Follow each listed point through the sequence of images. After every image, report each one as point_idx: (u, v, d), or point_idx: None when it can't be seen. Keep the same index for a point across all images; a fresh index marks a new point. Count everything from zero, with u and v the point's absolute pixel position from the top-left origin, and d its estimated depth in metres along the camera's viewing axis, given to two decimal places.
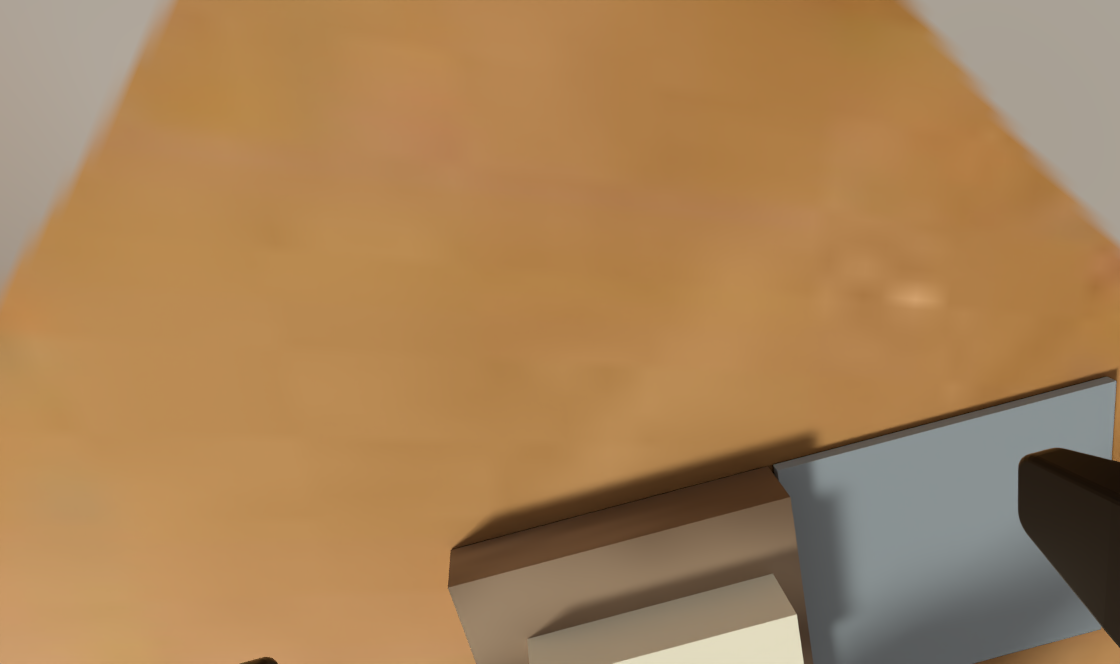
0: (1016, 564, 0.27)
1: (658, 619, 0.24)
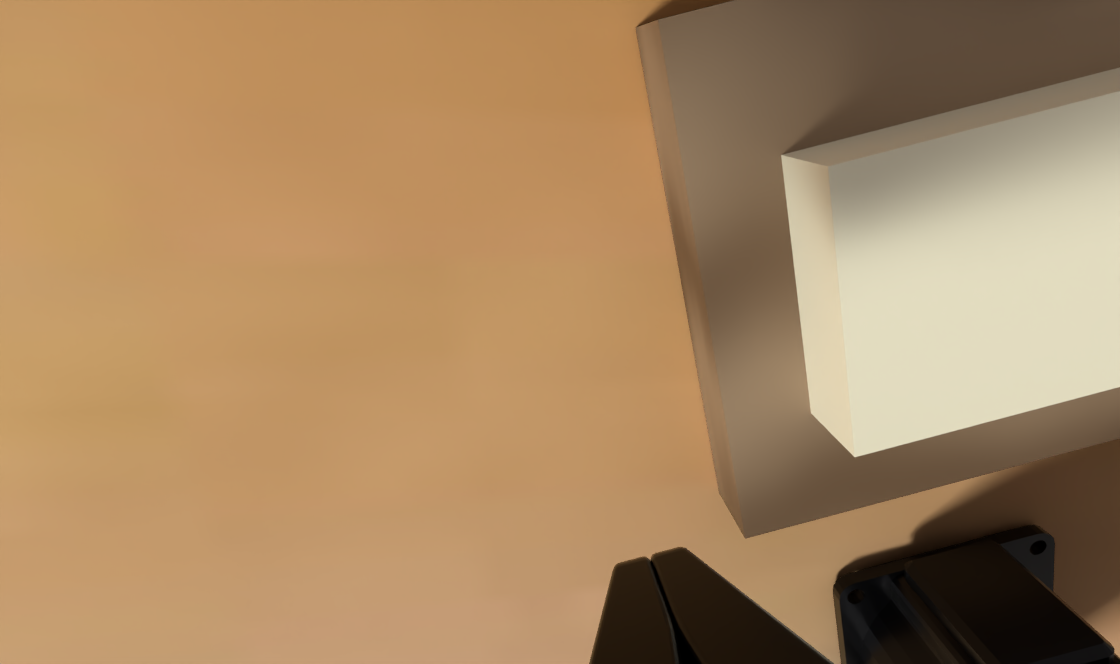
0: None
1: (1026, 99, 0.13)
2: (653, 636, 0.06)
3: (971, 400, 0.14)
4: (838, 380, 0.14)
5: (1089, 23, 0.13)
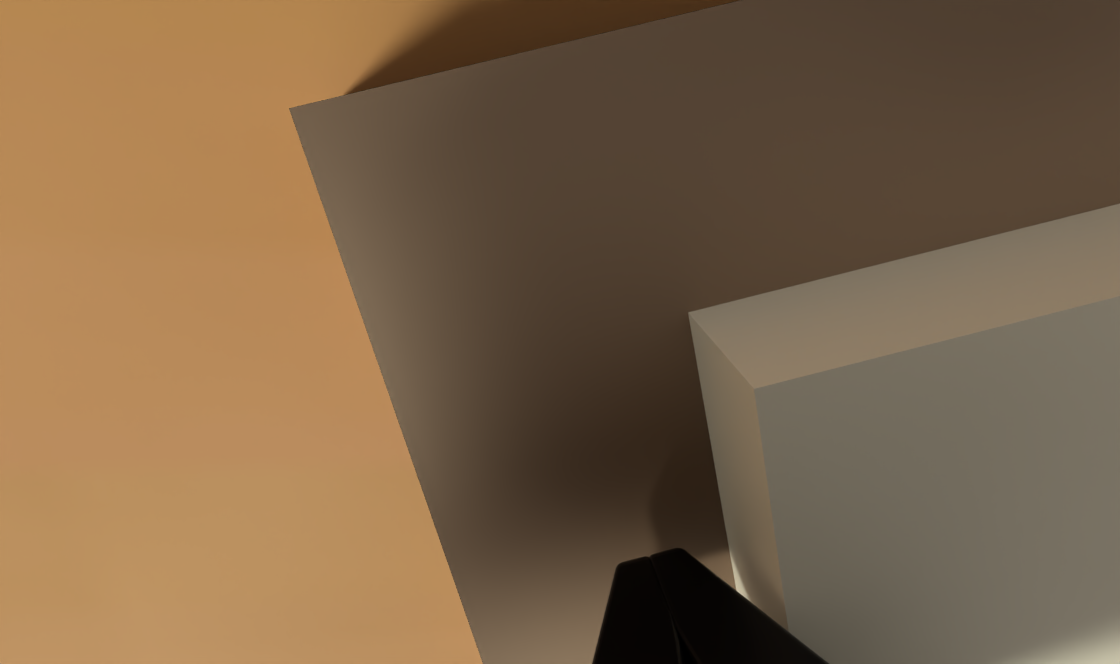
0: None
1: None
2: (656, 635, 0.06)
3: None
4: None
5: None
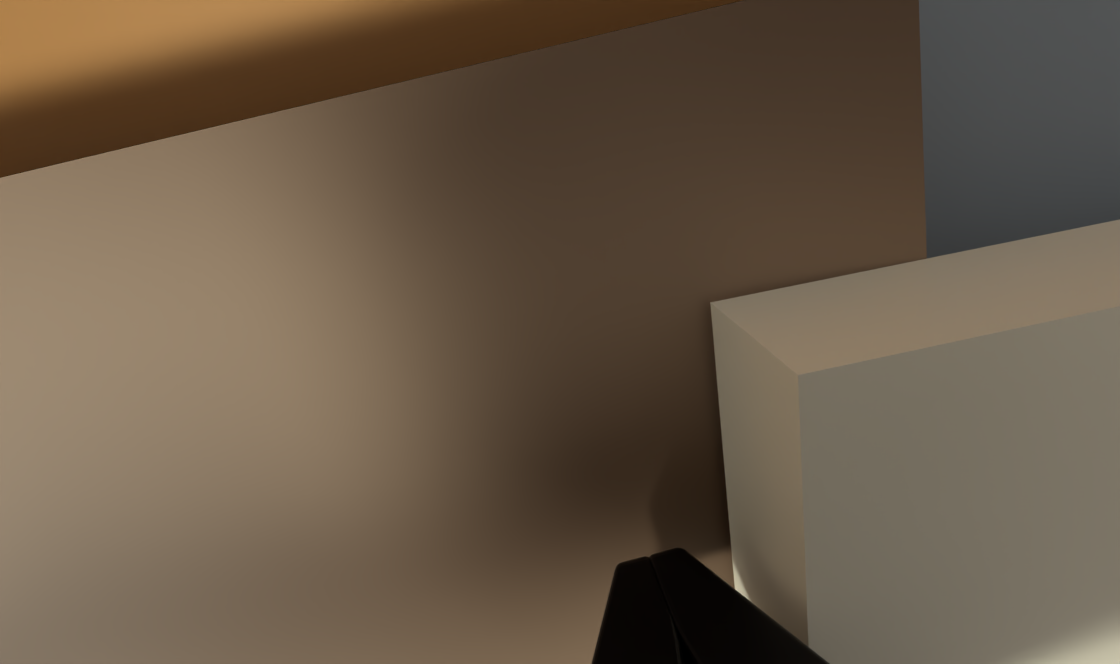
0: None
1: None
2: (656, 635, 0.06)
3: None
4: None
5: (593, 250, 0.07)
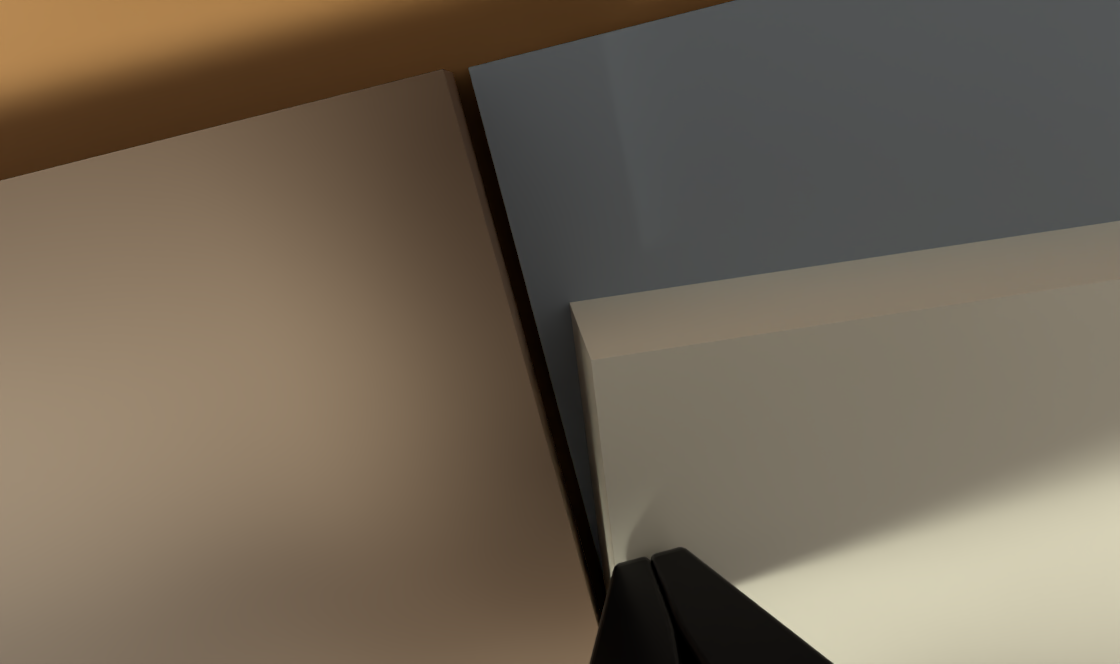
0: None
1: (939, 264, 0.09)
2: (653, 636, 0.06)
3: None
4: None
5: (161, 357, 0.07)
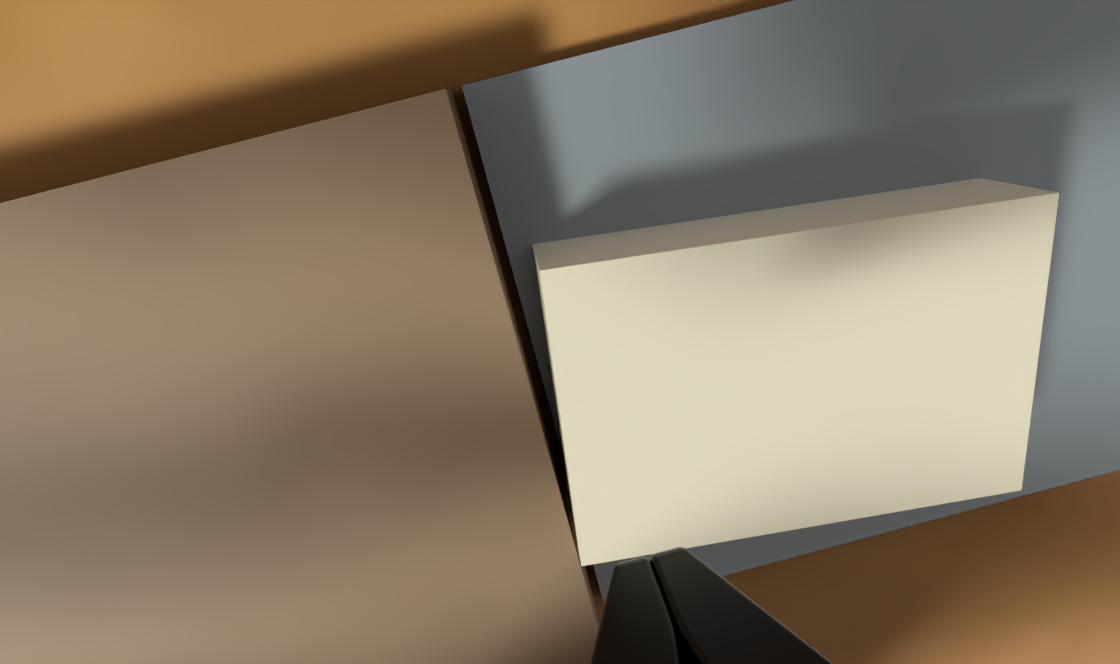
0: None
1: (779, 216, 0.13)
2: (654, 636, 0.06)
3: (705, 518, 0.13)
4: (569, 485, 0.13)
5: (269, 269, 0.11)
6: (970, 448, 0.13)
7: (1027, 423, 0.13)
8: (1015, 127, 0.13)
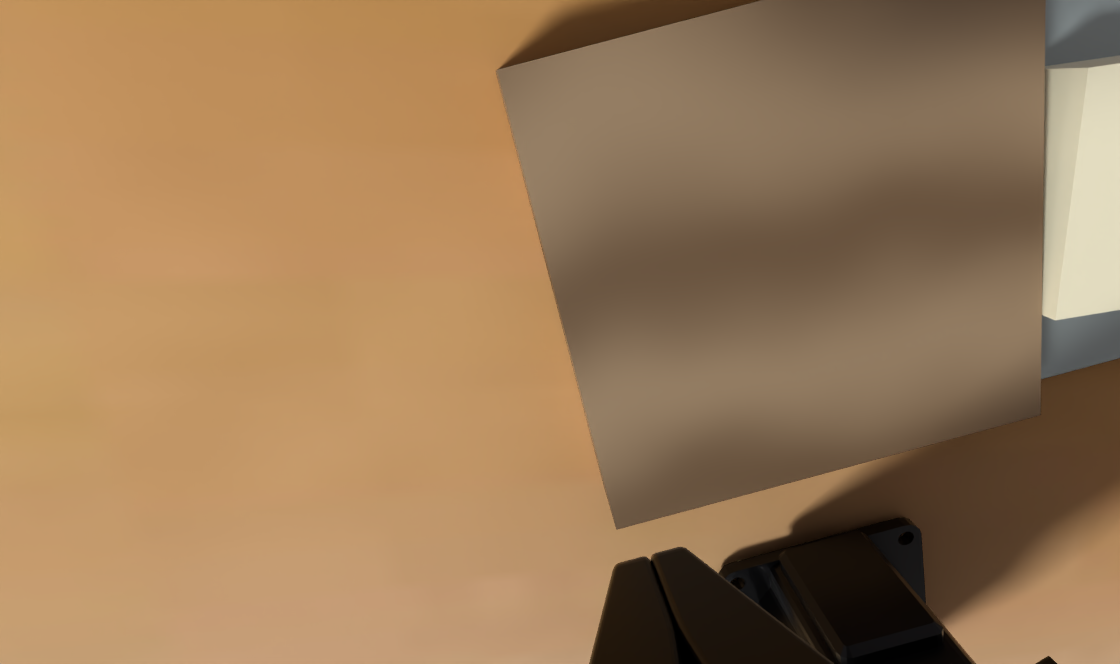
0: None
1: None
2: (654, 636, 0.06)
3: None
4: (1050, 255, 0.17)
5: (889, 67, 0.15)
6: None
7: None
8: None
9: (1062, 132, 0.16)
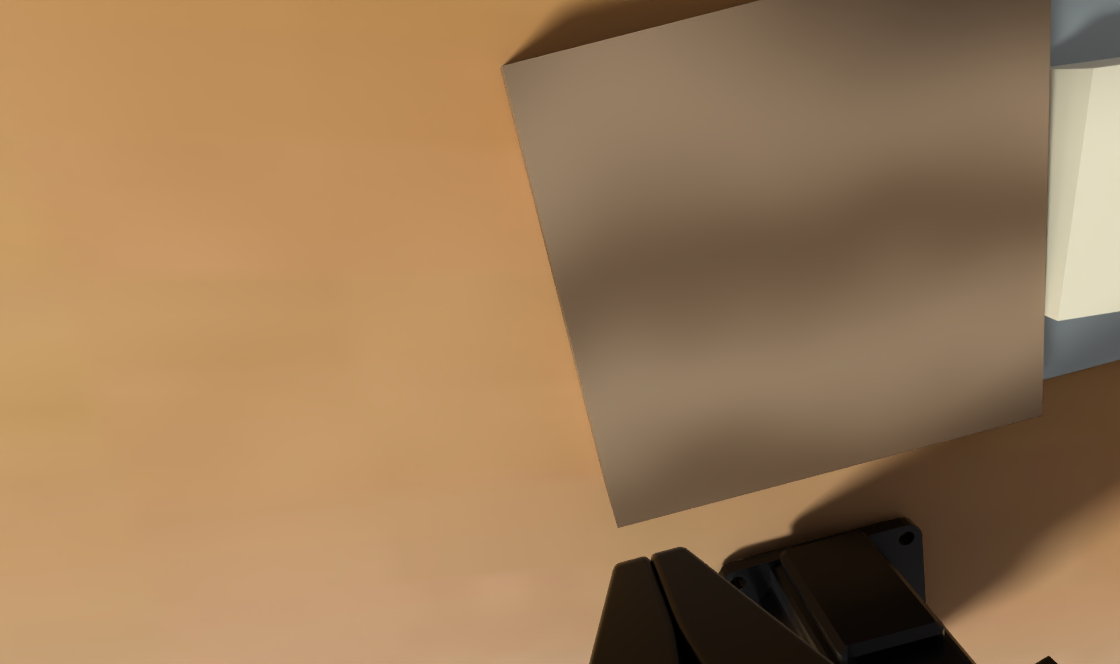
0: None
1: None
2: (653, 636, 0.06)
3: None
4: (1054, 255, 0.17)
5: (895, 66, 0.15)
6: None
7: None
8: None
9: (1066, 133, 0.16)
